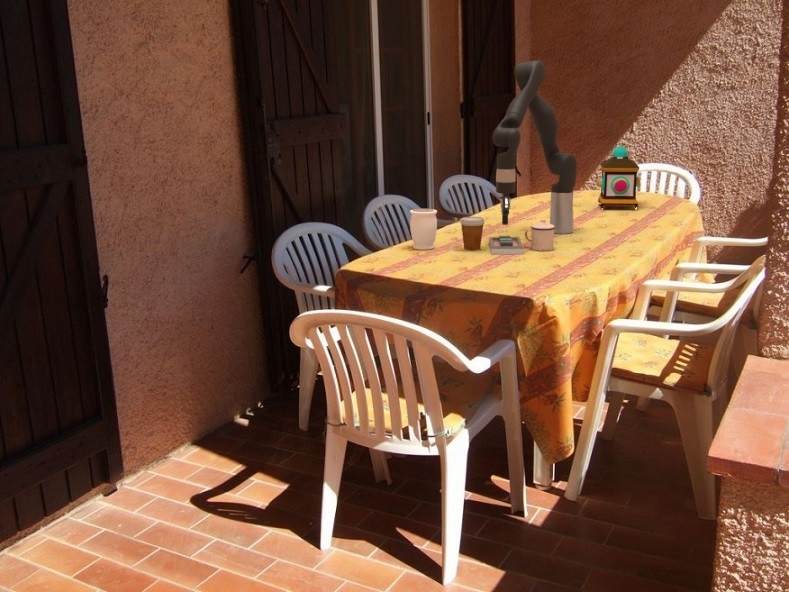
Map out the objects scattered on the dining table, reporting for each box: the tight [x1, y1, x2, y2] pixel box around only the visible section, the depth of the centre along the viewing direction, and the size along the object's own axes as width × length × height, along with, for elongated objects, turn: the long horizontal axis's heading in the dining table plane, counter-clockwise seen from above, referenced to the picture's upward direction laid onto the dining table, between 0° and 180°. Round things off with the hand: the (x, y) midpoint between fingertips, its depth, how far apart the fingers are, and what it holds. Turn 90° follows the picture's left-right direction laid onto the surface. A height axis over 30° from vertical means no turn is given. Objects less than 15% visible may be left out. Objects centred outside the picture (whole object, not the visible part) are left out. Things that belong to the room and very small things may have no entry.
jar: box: [409, 208, 438, 251], centre depth 346 cm, size 11×10×15 cm
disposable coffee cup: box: [459, 216, 485, 251], centre depth 343 cm, size 10×10×12 cm
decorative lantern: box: [597, 146, 641, 209], centre depth 428 cm, size 20×20×30 cm
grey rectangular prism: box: [498, 235, 512, 241], centre depth 347 cm, size 4×3×2 cm
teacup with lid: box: [524, 218, 555, 252], centre depth 342 cm, size 12×9×12 cm
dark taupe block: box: [501, 241, 513, 246], centre depth 338 cm, size 4×3×2 cm
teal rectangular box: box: [500, 238, 512, 244], centre depth 342 cm, size 4×3×2 cm
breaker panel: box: [488, 236, 524, 255], centre depth 343 cm, size 12×18×3 cm, turn 177°
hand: (504, 224), depth 345 cm, fingers closed
